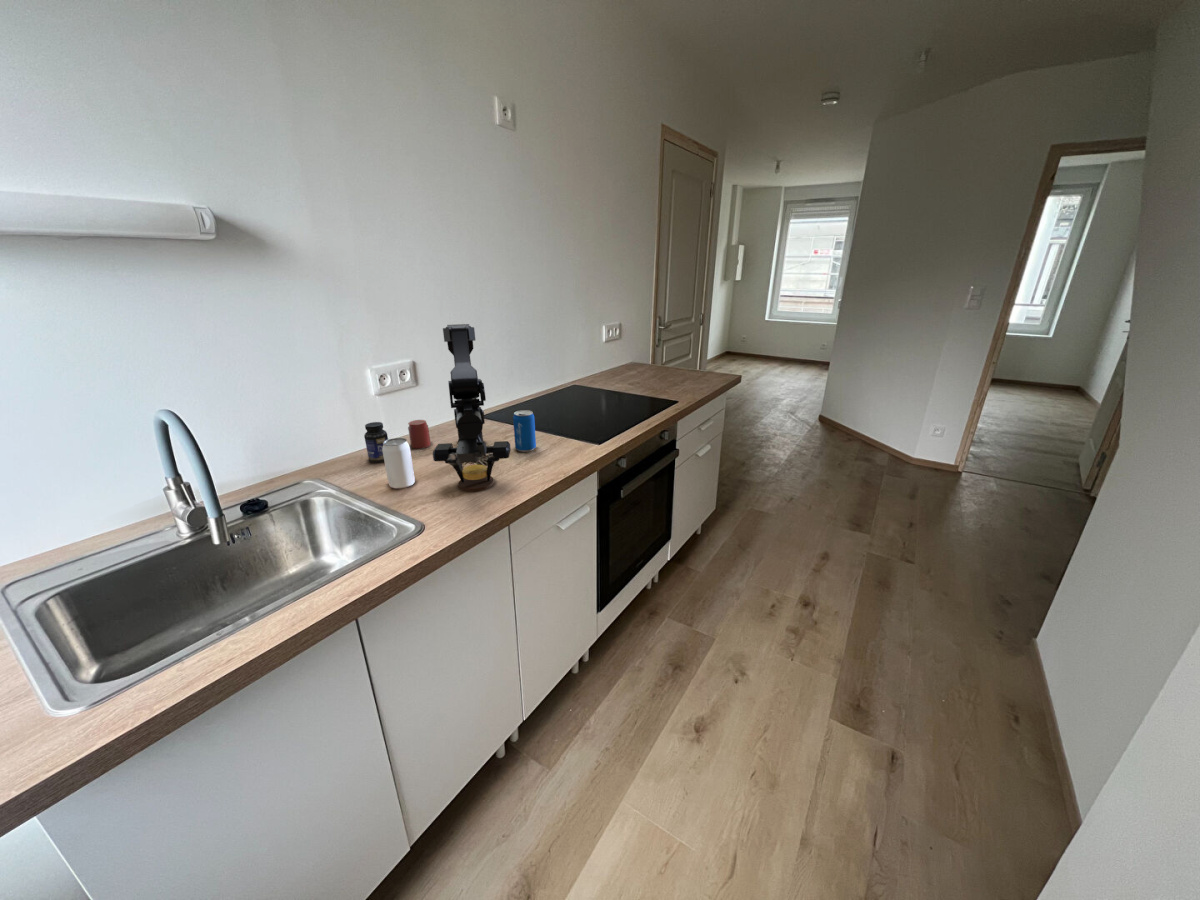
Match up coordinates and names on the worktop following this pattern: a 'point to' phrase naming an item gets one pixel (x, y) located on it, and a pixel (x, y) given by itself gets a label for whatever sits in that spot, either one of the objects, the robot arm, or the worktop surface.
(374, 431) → the pill bottle
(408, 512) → the worktop surface
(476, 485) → the coaster
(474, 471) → the lid
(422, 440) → the dark red cylinder
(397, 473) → the can
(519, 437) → the beverage can
